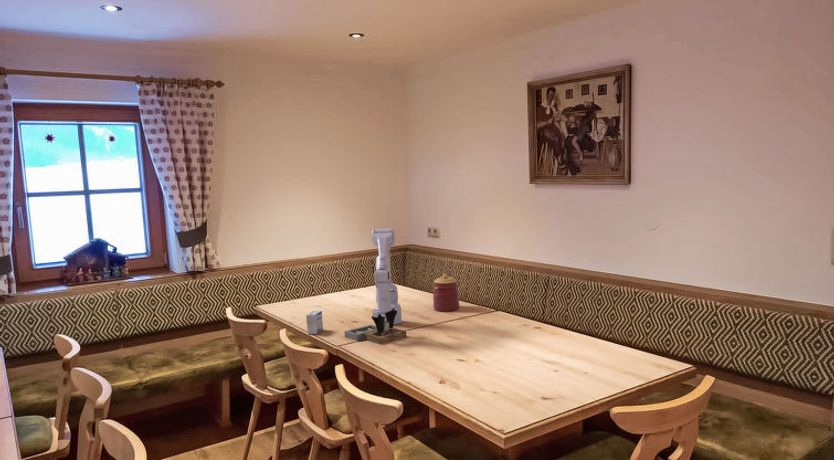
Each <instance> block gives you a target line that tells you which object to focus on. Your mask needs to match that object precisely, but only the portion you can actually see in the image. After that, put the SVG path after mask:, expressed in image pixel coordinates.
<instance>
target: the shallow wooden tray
mask: <svg viewBox="0 0 834 460" xmlns="http://www.w3.org/2000/svg"><path fill="white" fill-rule="evenodd" d="M389 330H390V334H388V335H384V336H381V333H378V331H374V332H370V333H367V334H365V339H364V340H366V341H369V342H371V343H375V344H377V345H381V344H384V343H389V342H391V341H392V342H393V341H396V340H398V339H399V340H400V339H402V338H407V330H404V329H401V328H397V327H394V326H393V328H389Z"/></svg>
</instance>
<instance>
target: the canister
mask: <svg viewBox="0 0 834 460" xmlns="http://www.w3.org/2000/svg"><path fill="white" fill-rule="evenodd" d="M457 281H458V280H457V279H456V278H454V277H451V276H448V274H447V273H443V274H442V276H441V277H437V278H436V279H435V280H434V281H433V282H434V284H432V288H433V291H432V300H433V303H432V306H433V310H434V311H437V312H440V313H441V312H442V313H443V312H444V313H445V312H446V313H447V312H448V313H449V312H455V311H458V310H459V309H460V306H461V305H460V297H459V295H460V291H459V289H458V287H459V285H460V284H459V283H457Z"/></svg>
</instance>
